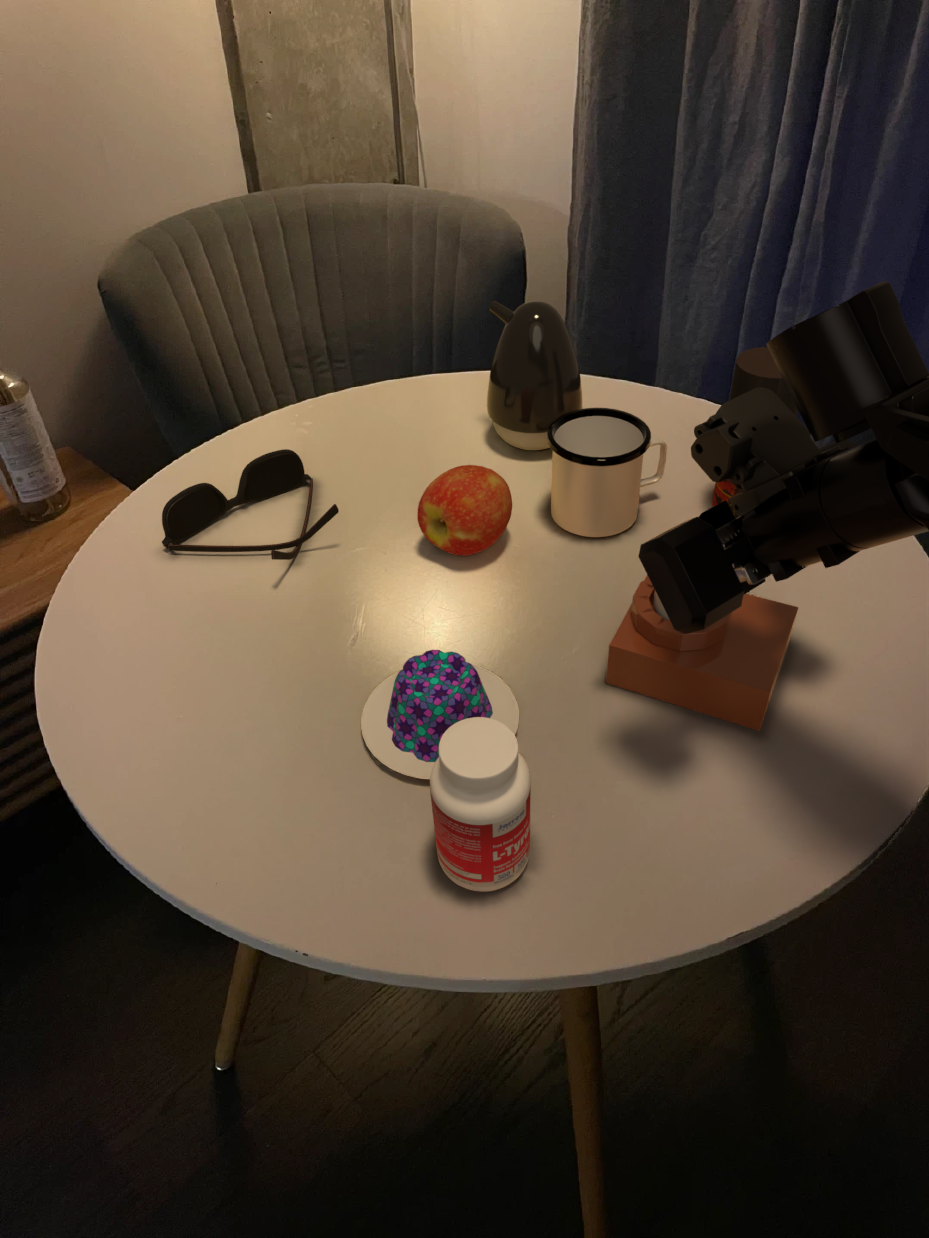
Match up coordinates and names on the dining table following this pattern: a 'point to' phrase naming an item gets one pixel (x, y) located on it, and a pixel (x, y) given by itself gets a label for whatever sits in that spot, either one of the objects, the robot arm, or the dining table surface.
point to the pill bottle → (481, 805)
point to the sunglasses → (255, 484)
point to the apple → (465, 509)
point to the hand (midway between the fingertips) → (689, 558)
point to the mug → (599, 469)
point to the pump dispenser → (532, 374)
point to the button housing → (704, 657)
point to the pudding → (430, 709)
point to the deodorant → (748, 375)
